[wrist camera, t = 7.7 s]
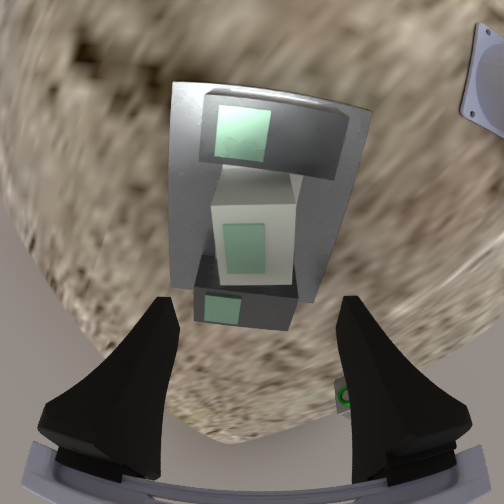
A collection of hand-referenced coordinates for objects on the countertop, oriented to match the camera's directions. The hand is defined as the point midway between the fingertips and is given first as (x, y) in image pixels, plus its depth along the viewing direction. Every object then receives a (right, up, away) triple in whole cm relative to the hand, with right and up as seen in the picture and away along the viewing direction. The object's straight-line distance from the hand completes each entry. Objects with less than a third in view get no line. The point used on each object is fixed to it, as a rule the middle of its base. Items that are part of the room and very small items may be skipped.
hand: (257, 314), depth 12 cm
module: (0, +6, +7) cm, 9 cm away
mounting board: (0, +6, +9) cm, 10 cm away
